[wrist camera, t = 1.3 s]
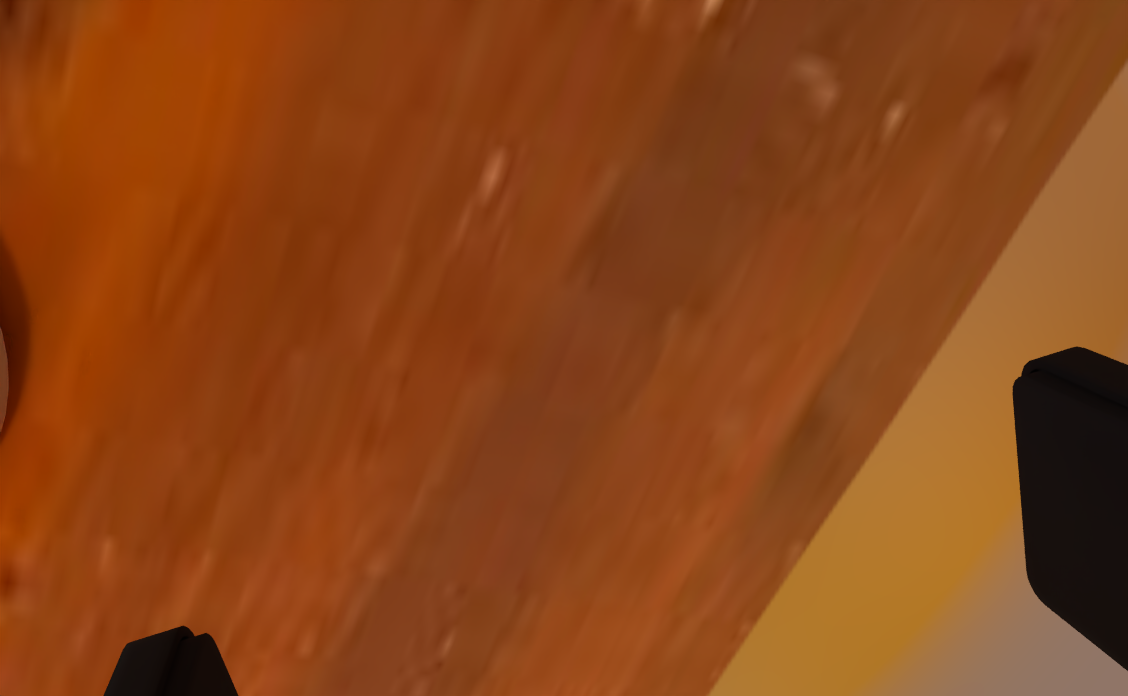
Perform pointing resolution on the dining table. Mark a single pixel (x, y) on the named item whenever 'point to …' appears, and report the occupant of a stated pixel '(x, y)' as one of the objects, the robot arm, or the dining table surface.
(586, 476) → the dining table surface
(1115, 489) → the robot arm
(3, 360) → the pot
